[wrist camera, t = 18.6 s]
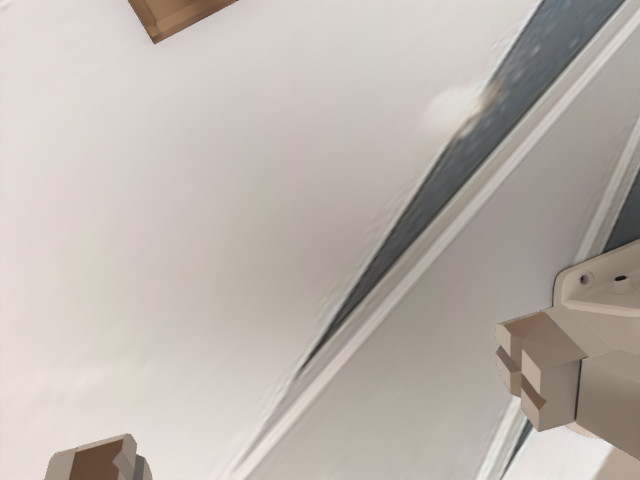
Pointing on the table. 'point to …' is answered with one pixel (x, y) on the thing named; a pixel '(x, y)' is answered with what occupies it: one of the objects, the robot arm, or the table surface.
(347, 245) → the table surface
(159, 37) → the tray
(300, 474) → the table surface
